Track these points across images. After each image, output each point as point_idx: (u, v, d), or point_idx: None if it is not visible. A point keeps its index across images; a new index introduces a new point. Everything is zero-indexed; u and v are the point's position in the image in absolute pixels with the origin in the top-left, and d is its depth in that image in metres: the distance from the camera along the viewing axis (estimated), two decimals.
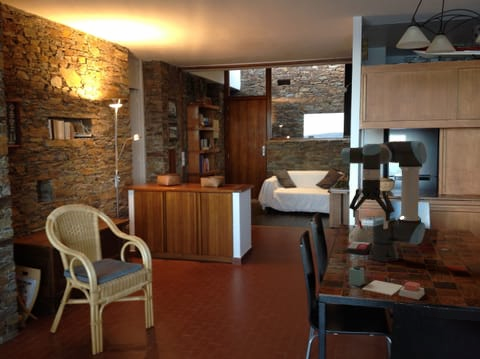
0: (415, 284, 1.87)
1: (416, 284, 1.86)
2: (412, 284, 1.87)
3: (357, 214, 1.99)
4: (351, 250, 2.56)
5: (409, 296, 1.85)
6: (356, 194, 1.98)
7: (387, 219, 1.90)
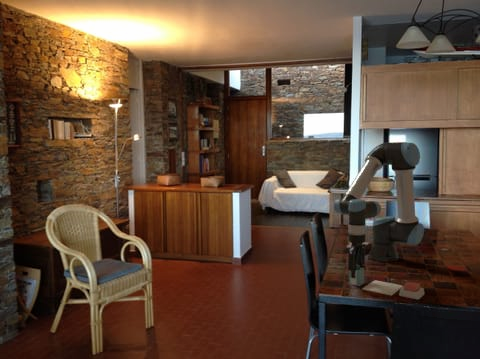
0: (415, 284, 1.87)
1: (416, 284, 1.86)
2: (412, 284, 1.87)
3: None
4: None
5: (409, 296, 1.85)
6: None
7: None
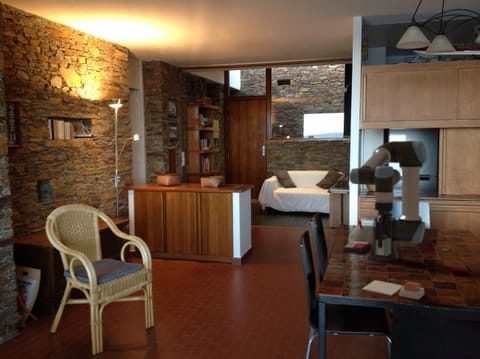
0: (415, 284, 1.87)
1: (416, 284, 1.86)
2: (412, 284, 1.87)
3: None
4: (348, 249, 2.59)
5: (409, 296, 1.85)
6: None
7: None
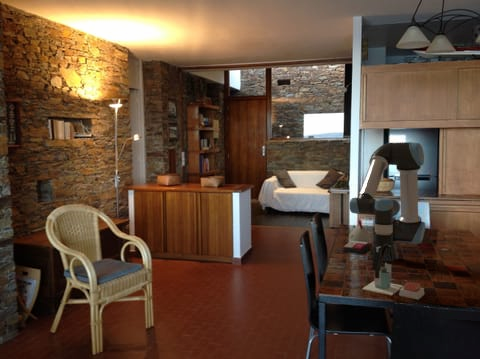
0: (415, 284, 1.87)
1: (416, 284, 1.86)
2: (412, 284, 1.87)
3: (387, 267, 2.01)
4: (347, 249, 2.59)
5: (409, 296, 1.85)
6: None
7: None
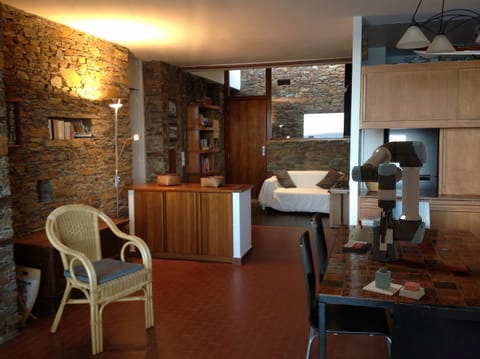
0: (415, 284, 1.87)
1: (416, 284, 1.86)
2: (412, 284, 1.87)
3: (388, 233, 1.99)
4: (347, 249, 2.60)
5: (409, 296, 1.85)
6: None
7: (381, 241, 1.87)
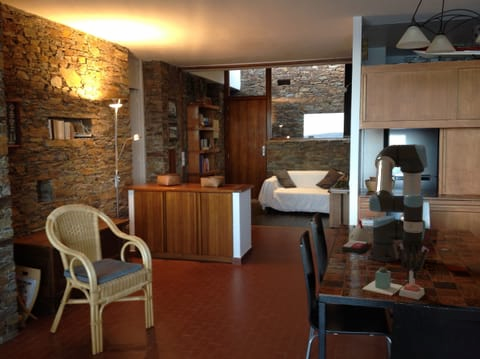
0: (415, 286, 1.87)
1: (415, 286, 1.87)
2: None
3: None
4: (346, 248, 2.60)
5: (409, 296, 1.85)
6: (400, 251, 1.88)
7: (415, 277, 1.86)
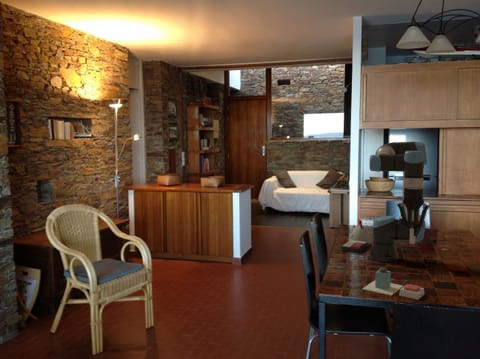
0: (415, 287, 1.87)
1: (416, 287, 1.87)
2: (412, 286, 1.87)
3: None
4: (345, 248, 2.61)
5: (409, 296, 1.85)
6: (400, 208, 1.87)
7: (415, 234, 1.85)
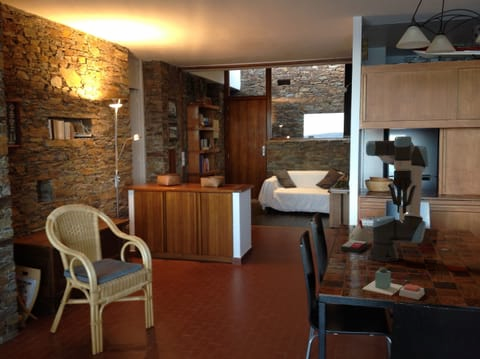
0: (415, 287, 1.87)
1: (416, 287, 1.87)
2: (412, 286, 1.87)
3: None
4: (345, 248, 2.61)
5: (409, 296, 1.85)
6: (391, 188, 2.07)
7: (404, 211, 2.04)
